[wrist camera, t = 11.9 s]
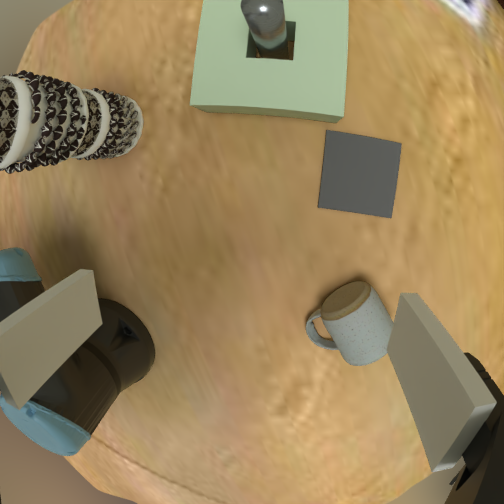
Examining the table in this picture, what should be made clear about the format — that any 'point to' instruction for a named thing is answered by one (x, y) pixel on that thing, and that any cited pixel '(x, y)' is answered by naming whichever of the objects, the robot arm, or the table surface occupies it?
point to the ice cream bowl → (501, 3)
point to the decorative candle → (62, 122)
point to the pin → (267, 27)
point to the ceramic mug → (354, 324)
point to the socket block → (273, 63)
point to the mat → (359, 174)
